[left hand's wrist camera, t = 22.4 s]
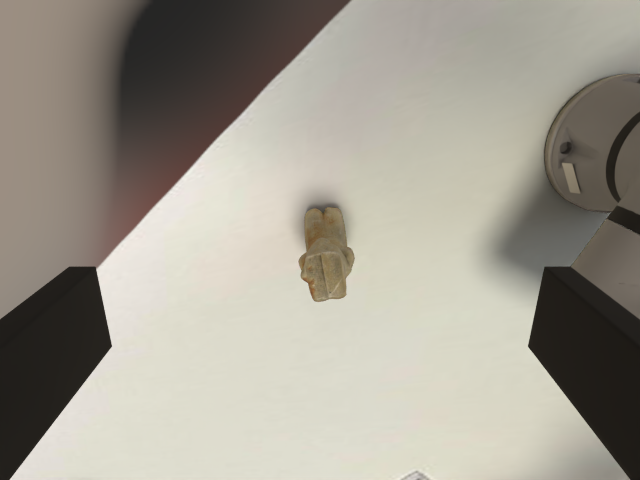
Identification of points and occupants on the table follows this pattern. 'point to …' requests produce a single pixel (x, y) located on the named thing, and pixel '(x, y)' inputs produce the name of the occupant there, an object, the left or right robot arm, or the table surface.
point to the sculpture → (326, 254)
